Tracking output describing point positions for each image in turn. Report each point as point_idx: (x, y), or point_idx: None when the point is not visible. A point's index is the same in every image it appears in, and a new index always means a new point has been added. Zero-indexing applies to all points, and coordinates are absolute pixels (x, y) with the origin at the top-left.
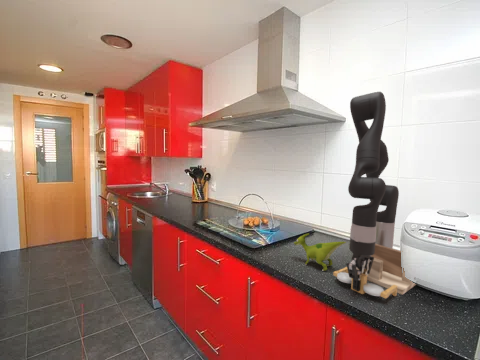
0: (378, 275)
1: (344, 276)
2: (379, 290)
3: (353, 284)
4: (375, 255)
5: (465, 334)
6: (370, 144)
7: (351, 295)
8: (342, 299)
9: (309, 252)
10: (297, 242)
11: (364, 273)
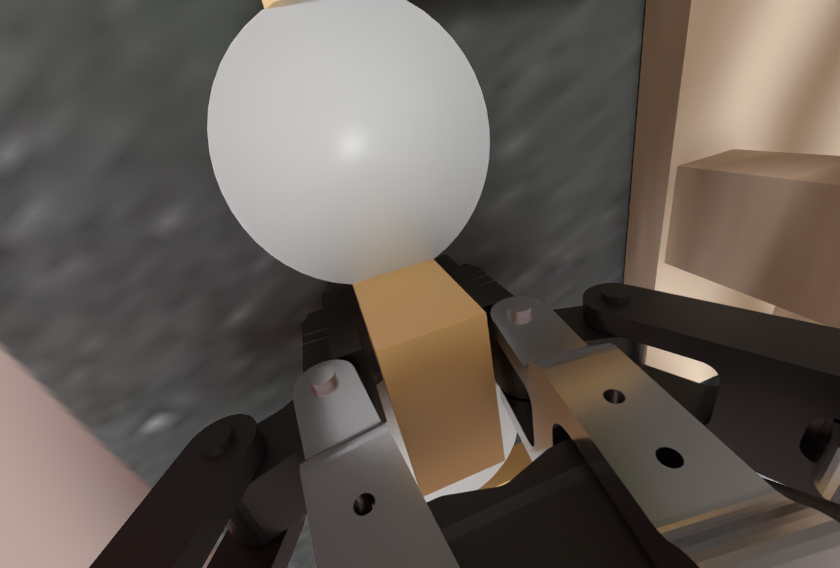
0: (710, 274)
1: (324, 160)
2: (446, 488)
3: (305, 346)
4: None
5: None
6: None
7: (245, 338)
8: (77, 380)
9: None
10: None
11: (514, 423)
